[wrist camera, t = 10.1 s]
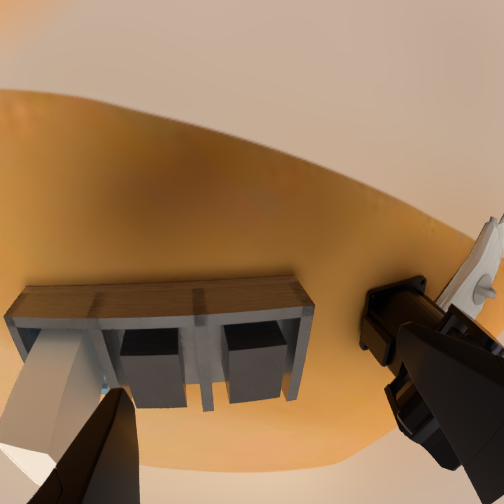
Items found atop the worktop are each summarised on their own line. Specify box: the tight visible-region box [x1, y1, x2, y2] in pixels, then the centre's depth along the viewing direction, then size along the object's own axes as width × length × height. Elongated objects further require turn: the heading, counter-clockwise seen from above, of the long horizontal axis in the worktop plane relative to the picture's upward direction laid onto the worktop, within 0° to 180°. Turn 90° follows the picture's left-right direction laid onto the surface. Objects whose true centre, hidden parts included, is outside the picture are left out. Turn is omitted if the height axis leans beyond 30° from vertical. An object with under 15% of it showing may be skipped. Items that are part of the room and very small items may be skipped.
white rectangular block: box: [0, 328, 104, 486], centre depth 14 cm, size 4×5×11 cm
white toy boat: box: [395, 214, 504, 378], centre depth 26 cm, size 23×7×4 cm, turn 144°
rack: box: [4, 275, 315, 412], centre depth 19 cm, size 20×10×5 cm, turn 87°
